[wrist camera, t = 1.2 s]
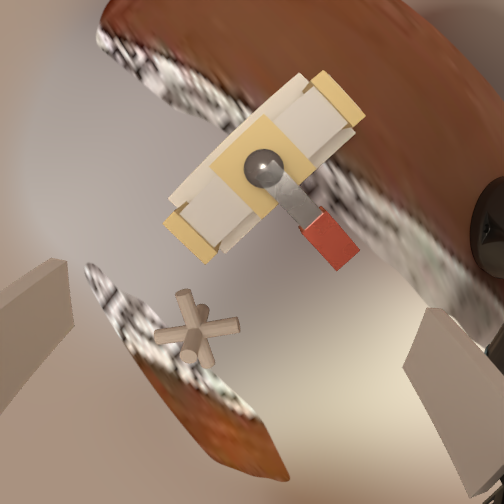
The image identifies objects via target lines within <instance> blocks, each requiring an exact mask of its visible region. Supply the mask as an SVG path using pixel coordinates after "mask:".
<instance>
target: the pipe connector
mask: <svg viewBox="0 0 504 504" xmlns="http://www.w3.org/2000/svg"><path fill="white" fill-rule="evenodd" d="M175 296H176V299H177V302H178V304H179V308H180V310H181V313H182V316H183V319H184V322H185V324H186V325H184V326H179V327H171V328H165V329H158V330H155V331H154V339H155V342H156V344H158V345H160V344H168V343H175V342H183V341H184V343H183V346H182V349H181V352H180V358H181V360H182V361H184V362H185V363H194V362H195V361H196V360H197V357H198V359H199V361H200V364H201V366H202V367H203V368H205V369H208V368H211V367H213V366H214V365H215V360H214V357H213V354H212V351H211V349H210V346H209V343H208V340H207V338H210V337H216V336H222V335H228V334H234V333H239V332H240V324H239V320H238V317H232V318H227V319H221V320H215V321H210V322H207V319H208V314H209V308H208V306H207V305H205V304H199V305H197V306H196V305H195V302H194V299H193V297H192V293H191V290H190V289H183V290H180V291H178V292H177V293H176V294H175Z"/></svg>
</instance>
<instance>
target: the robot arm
mask: <svg viewBox="0 0 504 504" xmlns="http://www.w3.org/2000/svg"><path fill="white" fill-rule="evenodd" d="M470 241H471V249H472V253H473V256H474V259H475V261H476V262H477V264H478V265H479V267H480V268H481V269H483V270H484V271H485V272H487V273H488V274H490V275H491V276H493V277H496V278H500V279H504V177H500V178H497V179H496V180H494V181H493V182H491V183H490V184H489V185H488V186H487V187H486V189H485V190H484V191H483V193H482V194H481V196H480V198H479V200H478V202H477V204H476V207H475V210H474V213H473V217H472V222H471V231H470ZM73 327H74V320H73V313H72V306H71V297H70V289H69V279H68V268H67V261H65V260H59V259H53V258H50V259H49V260H47V261H46V262H44V263H42V264H41V265H39V266H38V267H36V268H34V269H33V270H31V271H30V272H28V273H27V274H25V275H24V276H22V277H21V278H19V279H18V280H16V281H15V282H13V283H12V284H11V285H9V286H8V287H6V288H5V289H3V290H2V291H1V292H0V415H1V414H2V412H3V411H4V410H5V408H6V407H7V406H8V405H9V403H10V402H11V401H12V399H13V398H14V397H15V396H16V394H17V393H18V392H19V390H20V389H21V388H22V387H23V385H24V384H25V383H26V382H27V381H28V379H29V378H30V377H31V376H32V375H33V373H34V372H35V371H36V370H37V369H38V367H39V366H40V365H41V364H42V363H43V362H44V360H45V359H46V358H47V357H48V356H49V354H50V353H51V352H52V351H53V350H54V349H55V348H56V346H57V345H58V344H59V343H60V342H61V341H62V339H63V338H64V337H65V336H66V335H67V334H68V333H69V332H70V331H71V329H72V328H73ZM403 369H404V371H405V373H406V375H407V376H408V378H409V380H410V382H411V383H412V385H413V387H414V389H415V391H416V392H417V394H418V396H419V397H420V400H421V401H422V403H423V405H424V407H425V409H426V410H427V412H428V415H429V416H430V418H431V420H432V422H433V424H434V426H435V428H436V430H437V432H438V434H439V436H440V438H441V439H442V442H443V443H444V446H445V447H446V449H447V451H448V453H449V455H450V457H451V460H452V462H453V464H454V466H455V468H456V470H457V472H458V474H459V476H460V479H461V481H462V483H463V485H464V487H465V490H466V492H467V494H468V496H469V498H472V497H474V496H477V495H479V494H482V493H484V492H487V491H488V490H489V489H490V488H491V487H492V486H493V485H494V484H495V483H496V482H497V481H498V480H499V479H500V480H501V482H502V486H500V487H499V488H498V489H497V490H496V491H495V492H494V493H493V494H492V495H491V496H490V497H489V498H488V499H487V500H485V501H484V502H483V504H489V503H490V502H491V501H492V500H494V502H493V503H492V504H504V323H503V325H502V327H501V328H500V330H499V331H498V333H497V334H496V336H495V338H494V339H493V341H492V342H491V344H489V345H488V346H487V347H486V349H485V352H484V353H483V352H482V351H481V350H480V348H479V347H478V346H477V345H476V344H475V343H474V342H473V341H472V340H471V338H470V337H469V336H468V335H467V334H466V333H465V332H464V331H463V330H462V329H461V328H460V327H459V326H458V325H457V324H456V323H455V322H454V321H453V320H452V318H451V317H450V316H449V315H448V314H447V313H446V312H445V311H444V310H443V309H438V308H426V311H425V313H424V316H423V319H422V322H421V324H420V327H419V329H418V332H417V335H416V337H415V339H414V342H413V344H412V347H411V349H410V351H409V354H408V356H407V358H406V360H405V363H404V365H403Z"/></svg>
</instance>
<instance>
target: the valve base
mask: <svg viewBox="0 0 504 504" xmlns="http://www.w3.org/2000/svg"><path fill="white" fill-rule="evenodd" d="M364 117H365V115H364V113H363V112H362V111H361V109H360V108H359V107H358V106H357V105H356V104H355V103H354V101H353V100H352V99H351V98H350V97H349V96H348V95H347V94H346V93H345V92H344V90H343V89H342V88H341V87H340V86H339V85H338V84H337V83H336V82H335V81H334V80H333V79H332V78H331V77H330V76H329V75H328V74H327V73H326V72H325V71H324V70H323V71H322V72H320V73H319V74H318V75H317V76H316V77H314V78H313V79H312V80H311V81H310V82H308V81H307V80H306V79H305V78H304V77H303V76H302V75H301V74H300V73H298V74H297V75H296V76H295V77H293V78H292V79H291V80H290V81H289V82H288V83H286V84H285V85H284V86H283V87H282V88H281V89H279V90H278V91H277V92H276V93H275V94H274V95H273V96H271V97H270V98H269V99H268V100H267V101H266V102H265V103H264V104H262V105H261V106H260V107H259V108H258V109H257V110H256V111H255V112H254V113H253V114H252V115H250V116H249V117H248V118H247V119H246V120H245V121H244V122H243V123H242V124H241V125H240V126H239V127H238V128H237V129H235V130H234V131H233V132H232V133H231V134H230V135H229V136H228V137H227V138H226V139H225V140H224V141H223V142H222V143H221V144H220V145H219V146H218V147H217V148H216V149H215V150H214V151H213V152H212V153H211V154H210V155H209V156H208V157H207V158H206V159H205V160H204V161H203V162H202V163H201V164H200V165H199V166H198V167H197V168H196V169H195V170H194V171H193V172H192V173H191V175H189V176H188V177H187V179H186V180H185V181H184V182H183V183H182V184H181V185H180V186H179V187H178V188H177V189H176V190H175V191H174V192H173V193H172V195H171V196H170V197H169V198H168V199H169V200H170V201H171V202H172V203H173V204H174V205H175V206H176V207H177V209H176V210H175V211H174V212H173V213H172V214H171V215H170V216H169V217H168V218H167V219H166V220H165V222H163V225H164V226H165V227H166V228H167V229H168V230H169V231H170V232H171V233H172V234H173V235H175V236H176V238H178V239H179V240H180V241H181V242H182V243H183V244H184V245H185V246H186V247H187V248H188V249H189V250H190V251H191V252H192V253H193V254H194V255H195V256H196V257H197V258H199V259H200V260H201V261H202V262H203V263H204V264H207V263H208V262H209V261H210V260H211V259H212V258H213V257H214V256H215V255H216V254H217V253H218V250H219V249H220V250H221V251H222V252H223V253H224V254H226V253H227V252H228V251H229V250H230V249H231V248H232V247H233V246H234V245H235V244H236V243H237V242H238V241H239V240H240V239H242V238H243V237H244V236H245V235H246V234H247V233H248V232H249V231H250V230H251V229H252V228H253V227H254V226H255V225H256V224H257V223H259V222H260V221H261V220H262V219H263V218H264V217H265V216H266V215H267V214H268V213H269V212H270V211H271V210H273V209H274V208H275V207H276V206H277V205H278V204H279V203H278V202H277V201H276V200H275V199H274V198H273V197H272V196H271V195H270V194H269V193H268V191H267V190H266V189H265V188H258V187H255V186H253V185H252V184H251V183H249V181H248V180H247V179H246V177H245V174H244V163H245V160H246V158H247V157H248V156H249V155H250V154H251V153H252V152H254V151H256V150H258V149H269V150H272V151H274V152H275V153H277V154H278V155H279V156H280V158H281V159H282V161H283V164H284V171H285V172H286V173H287V174H288V175H289V176H290V177H291V178H292V179H293V180H294V182H295V183H296V184H297V185H298V186H299V185H300V184H301V183H302V182H303V181H304V180H305V179H306V178H307V177H308V176H309V175H311V174H312V173H313V172H314V171H315V170H316V169H317V168H318V167H319V166H320V165H321V164H323V163H324V162H325V161H326V160H327V159H328V158H329V157H330V156H331V155H332V154H333V153H335V152H336V151H337V150H338V149H339V148H340V147H341V146H342V145H343V144H344V143H346V142H347V141H348V140H349V139H350V138H351V137H352V136H353V135H354V134H356V133H355V132H354V130H353V129H352V128H351V127H354V126H355V125H356V124H357V123H358V122H360V121H361V120H362V119H363V118H364Z"/></svg>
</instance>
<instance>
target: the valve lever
mask: <svg viewBox="0 0 504 504" xmlns="http://www.w3.org/2000/svg"><path fill="white" fill-rule="evenodd" d="M244 174H245V177H246V179H247V180H248V181H249V183H251V184H252V185H253V186H255V187H258V188H265V189H266V190H267V191H268V193H269V194H270V195H271V196H272V197H273V198H274V199H275V200H276V201H277V202H278V203H279V204H280V205H281V206H282V207H283V208H284V209H285V210H286V211H287V212H288V213H289V214H290V215H291V216H292V218H293V219H294V220H295V221H296V222H297V223H298V224H299V229H300V231H301V233H302V234H303V235H304V236H305V237H306V238H307V240H308V241H309V242H310V243H311V244H312V245H313V246H314V247H315V248H316V249H317V250H318V251H319V253H320V254H321V255H322V256H323V257H324V258H325V259H326V260H327V261H328V262H329V263H330V265H331V266H332V267H333V268H334V269H335V270H336V271H338V270H339V269H340V268H341V267H342V266H343V265H344V264H345V263H347V262H348V261H349V260H350V259H351V258H352V257H353V256H355V255H356V254H357V253H358V252H359V251H360V249H359V248H358V247H357V246H356V245H355V243H354V242H353V241H352V240H351V239H350V238H349V236H348V235H347V234H346V233H345V232H344V230H343V229H342V228H341V227H340V226H339V225H338V223H337V222H336V221H335V220H334V219H333V218H332V217H331V216H330V214H329V213H328V212H327V211H326V210H325V209H324V208H323V207H322V206H320V207H319V208H318V207H317V206H316V204H315V203H314V202H313V201H312V200H311V199H310V198H309V197H308V196H307V195H306V193H305V192H304V191H303V190H302V189H301V188H300V187H299V186H298V185H297V184H296V183H295V182H294V180H293V179H292V178H291V177H290V176H289V175H288V174H287V173H286V172H285V171H284V164H283V161H282V159H281V158H280V156H279V155H278V154H277V153H275V152H274V151H272V150H269V149H258V150H256V151H254V152H252V153H251V154H250V155H249V156H248V157H247V158H246V160H245V163H244Z"/></svg>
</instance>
